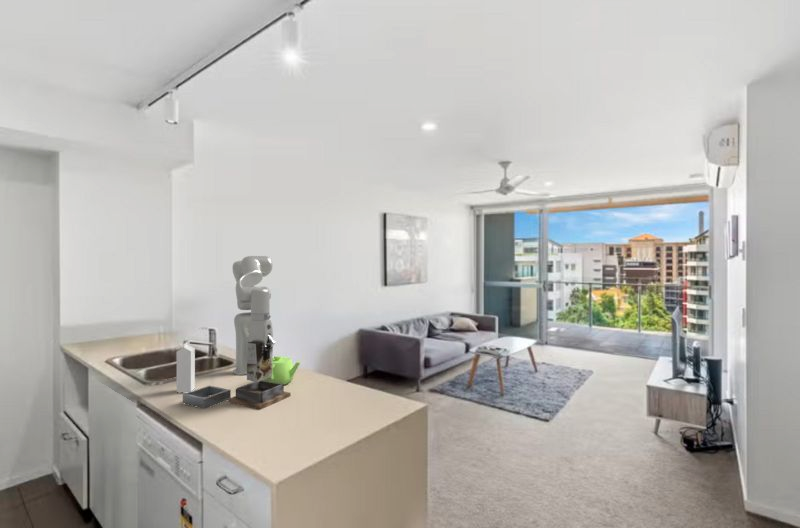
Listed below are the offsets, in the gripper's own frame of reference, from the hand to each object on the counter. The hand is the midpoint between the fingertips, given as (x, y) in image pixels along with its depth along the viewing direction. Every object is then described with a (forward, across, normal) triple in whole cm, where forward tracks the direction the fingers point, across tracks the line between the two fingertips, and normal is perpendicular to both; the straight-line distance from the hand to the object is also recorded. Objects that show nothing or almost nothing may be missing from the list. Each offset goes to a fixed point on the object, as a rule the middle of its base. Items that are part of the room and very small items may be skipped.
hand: (260, 358), depth 174 cm
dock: (+18, 0, 0) cm, 18 cm away
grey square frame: (+18, +18, +12) cm, 28 cm away
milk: (+18, +38, +7) cm, 43 cm away
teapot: (+18, +8, -22) cm, 29 cm away
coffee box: (+9, 0, 0) cm, 9 cm away
